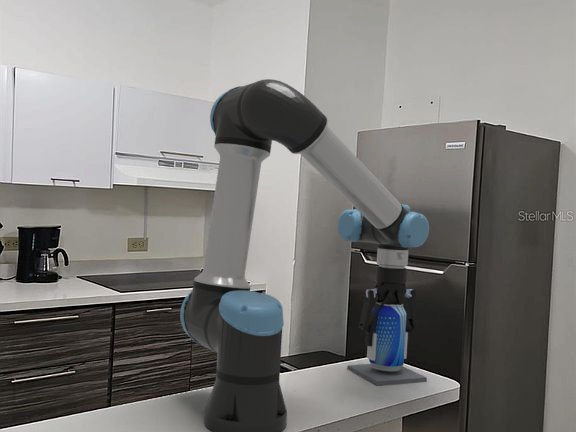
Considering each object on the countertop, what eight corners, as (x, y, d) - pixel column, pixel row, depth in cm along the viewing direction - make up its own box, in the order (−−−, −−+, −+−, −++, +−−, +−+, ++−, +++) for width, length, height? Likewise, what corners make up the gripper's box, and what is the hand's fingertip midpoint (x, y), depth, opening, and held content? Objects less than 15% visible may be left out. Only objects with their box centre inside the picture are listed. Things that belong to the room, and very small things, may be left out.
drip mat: (376, 385, 136) (377, 381, 136) (347, 369, 148) (347, 365, 148) (426, 381, 141) (426, 377, 141) (393, 366, 154) (394, 362, 154)
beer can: (362, 367, 144) (366, 302, 144) (378, 361, 151) (382, 299, 150) (393, 374, 139) (397, 307, 139) (409, 367, 146) (412, 303, 145)
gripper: (362, 267, 137) (357, 364, 137) (436, 268, 145) (431, 360, 145) (347, 264, 144) (341, 356, 144) (418, 265, 152) (413, 352, 152)
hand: (386, 358), depth 145 cm, fingers closed on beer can, 8 cm apart
